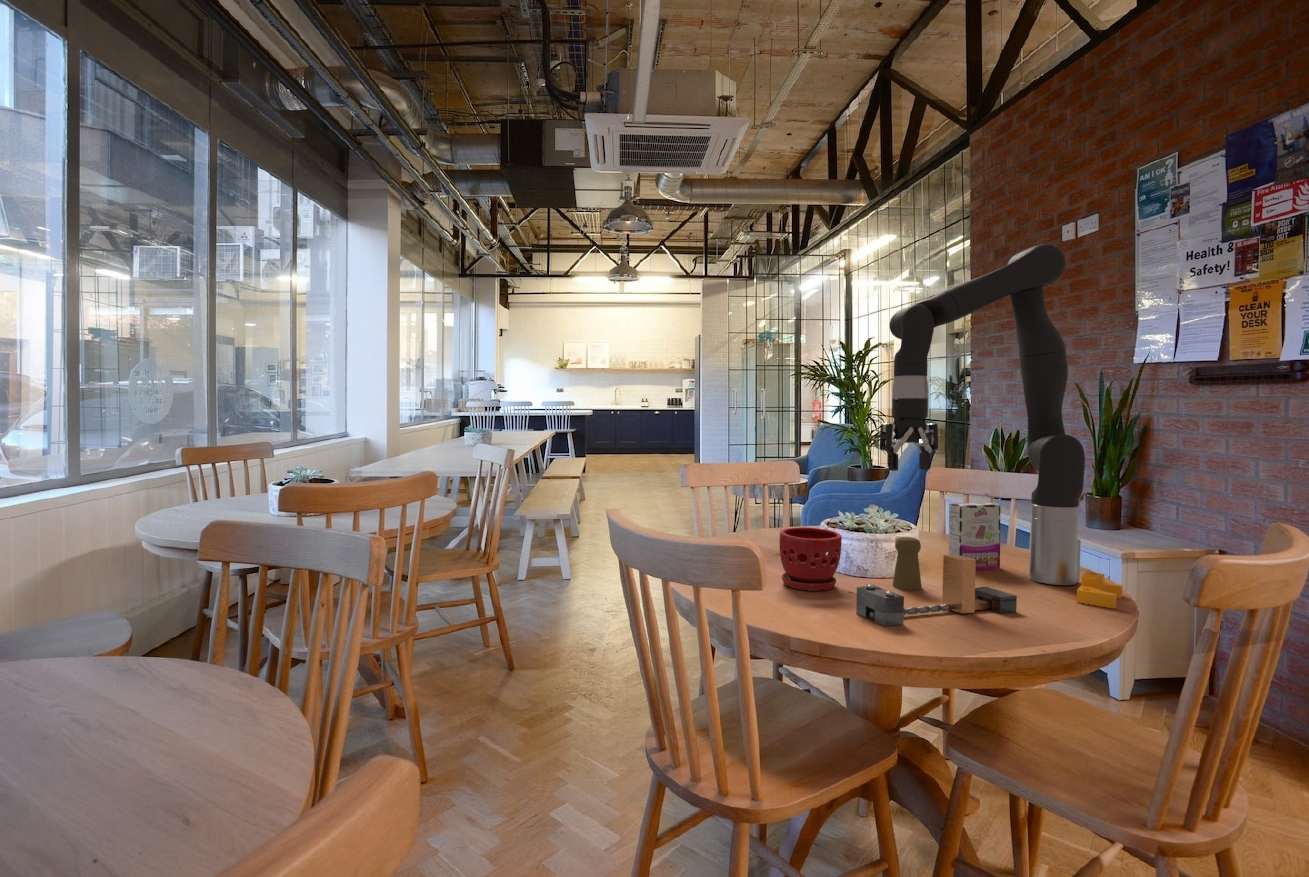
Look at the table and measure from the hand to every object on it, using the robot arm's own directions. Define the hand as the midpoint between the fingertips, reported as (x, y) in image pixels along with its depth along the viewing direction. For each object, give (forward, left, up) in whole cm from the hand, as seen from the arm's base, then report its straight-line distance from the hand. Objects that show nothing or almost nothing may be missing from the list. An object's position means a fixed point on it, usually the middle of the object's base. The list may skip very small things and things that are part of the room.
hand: (908, 470), depth 152 cm
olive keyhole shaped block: (+3, +3, -26) cm, 26 cm away
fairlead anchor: (+24, +21, -25) cm, 41 cm away
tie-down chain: (+14, +21, -25) cm, 36 cm away
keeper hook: (-3, +21, -25) cm, 33 cm away
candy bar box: (-25, -7, -26) cm, 37 cm away
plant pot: (+23, -4, -26) cm, 34 cm away
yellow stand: (-27, +20, -23) cm, 41 cm away
